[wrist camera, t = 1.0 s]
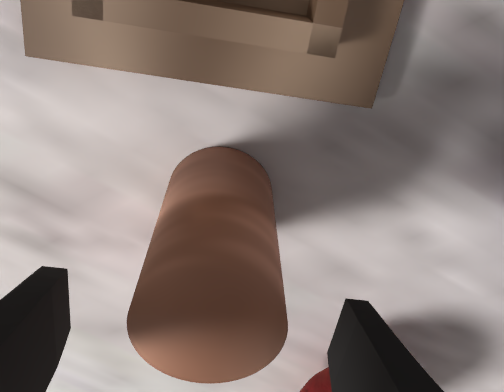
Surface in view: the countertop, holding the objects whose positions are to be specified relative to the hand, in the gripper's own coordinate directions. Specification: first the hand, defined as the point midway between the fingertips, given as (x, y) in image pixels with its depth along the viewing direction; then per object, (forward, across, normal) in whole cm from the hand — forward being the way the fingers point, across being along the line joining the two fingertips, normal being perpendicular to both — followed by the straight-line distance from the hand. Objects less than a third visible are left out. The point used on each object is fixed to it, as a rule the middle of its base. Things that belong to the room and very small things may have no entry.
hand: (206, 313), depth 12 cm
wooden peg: (+6, 0, 0) cm, 6 cm away
